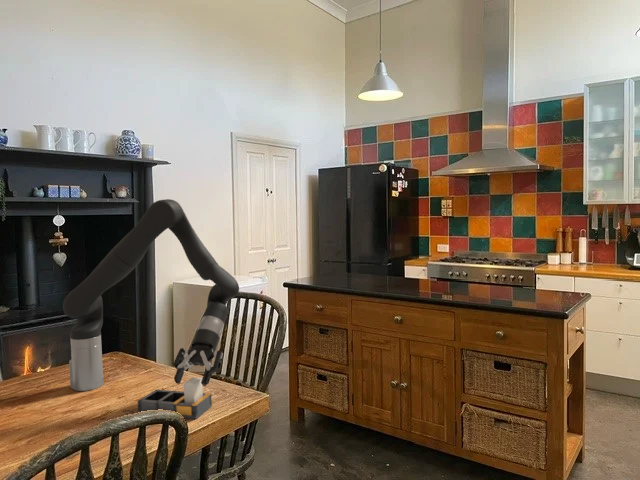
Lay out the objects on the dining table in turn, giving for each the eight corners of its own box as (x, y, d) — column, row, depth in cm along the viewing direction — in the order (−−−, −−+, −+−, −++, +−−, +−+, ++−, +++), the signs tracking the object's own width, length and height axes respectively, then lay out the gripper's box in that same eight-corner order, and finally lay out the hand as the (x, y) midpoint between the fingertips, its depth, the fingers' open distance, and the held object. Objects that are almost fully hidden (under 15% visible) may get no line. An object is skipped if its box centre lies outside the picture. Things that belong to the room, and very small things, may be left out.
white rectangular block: (185, 411, 134) (183, 383, 133) (193, 404, 138) (192, 377, 138) (194, 411, 133) (193, 384, 132) (203, 405, 138) (202, 378, 137)
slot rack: (137, 414, 134) (136, 400, 134) (156, 401, 143) (156, 388, 143) (195, 419, 130) (194, 405, 129) (211, 406, 138) (211, 392, 138)
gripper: (183, 326, 143) (162, 376, 133) (225, 328, 140) (207, 379, 129) (192, 339, 149) (173, 387, 138) (233, 341, 145) (217, 391, 135)
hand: (190, 383), depth 134 cm, fingers open, 8 cm apart
